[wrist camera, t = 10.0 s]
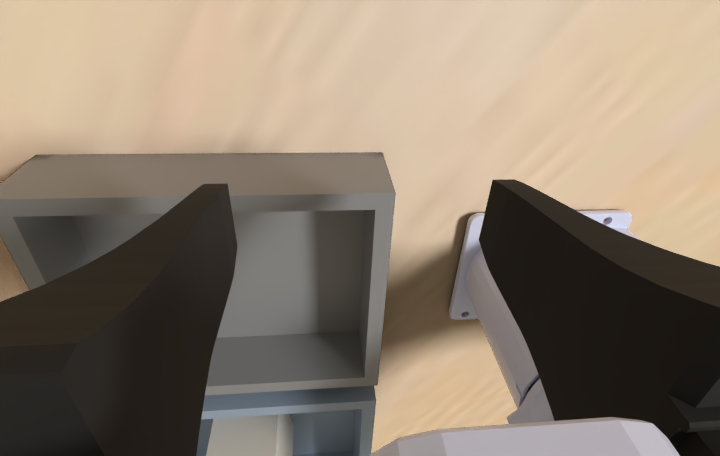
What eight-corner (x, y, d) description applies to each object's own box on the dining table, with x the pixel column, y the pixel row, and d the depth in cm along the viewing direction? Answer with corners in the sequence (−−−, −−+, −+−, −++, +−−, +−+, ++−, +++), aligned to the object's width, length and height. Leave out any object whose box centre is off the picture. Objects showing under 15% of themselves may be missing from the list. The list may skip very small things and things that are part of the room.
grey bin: (382, 152, 21) (395, 192, 18) (369, 333, 28) (377, 385, 25) (36, 154, 20) (-20, 199, 16) (117, 345, 27) (90, 402, 24)
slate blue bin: (368, 348, 29) (375, 400, 26) (361, 449, 37) (366, 499, 33) (123, 360, 28) (98, 417, 25) (167, 463, 35) (152, 518, 32)
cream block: (279, 390, 30) (273, 479, 25) (293, 425, 33) (290, 511, 28) (217, 400, 30) (198, 491, 25) (236, 434, 33) (222, 523, 28)
